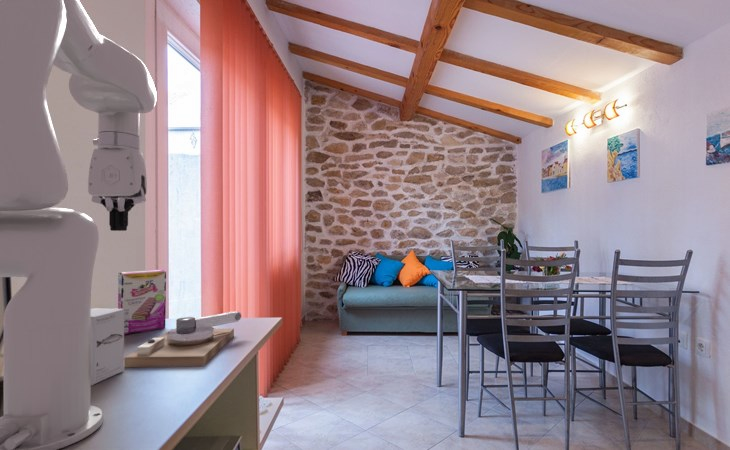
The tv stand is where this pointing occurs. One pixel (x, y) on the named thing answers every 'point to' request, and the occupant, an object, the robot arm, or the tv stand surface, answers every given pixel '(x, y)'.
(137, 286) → the candy bar box
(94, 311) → the supplement box
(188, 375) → the tv stand surface
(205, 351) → the wooden cutting board
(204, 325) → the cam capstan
